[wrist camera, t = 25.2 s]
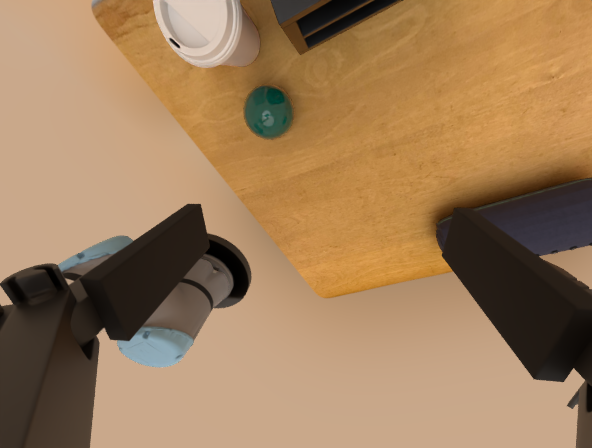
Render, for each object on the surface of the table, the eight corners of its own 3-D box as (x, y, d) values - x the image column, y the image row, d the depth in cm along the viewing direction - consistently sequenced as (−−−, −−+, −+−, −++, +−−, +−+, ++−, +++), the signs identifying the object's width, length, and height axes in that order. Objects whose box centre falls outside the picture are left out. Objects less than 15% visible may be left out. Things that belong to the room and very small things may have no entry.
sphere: (307, 112, 41) (301, 114, 34) (275, 146, 45) (264, 154, 37) (273, 73, 40) (260, 67, 32) (242, 111, 43) (224, 113, 36)
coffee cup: (198, 27, 38) (126, -14, 25) (249, -14, 35) (197, -84, 22) (232, 89, 41) (183, 82, 28) (280, 57, 38) (252, 32, 25)
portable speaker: (434, 254, 50) (456, 287, 41) (424, 211, 46) (446, 237, 37) (589, 217, 42) (657, 247, 34) (592, 163, 39) (669, 181, 30)
